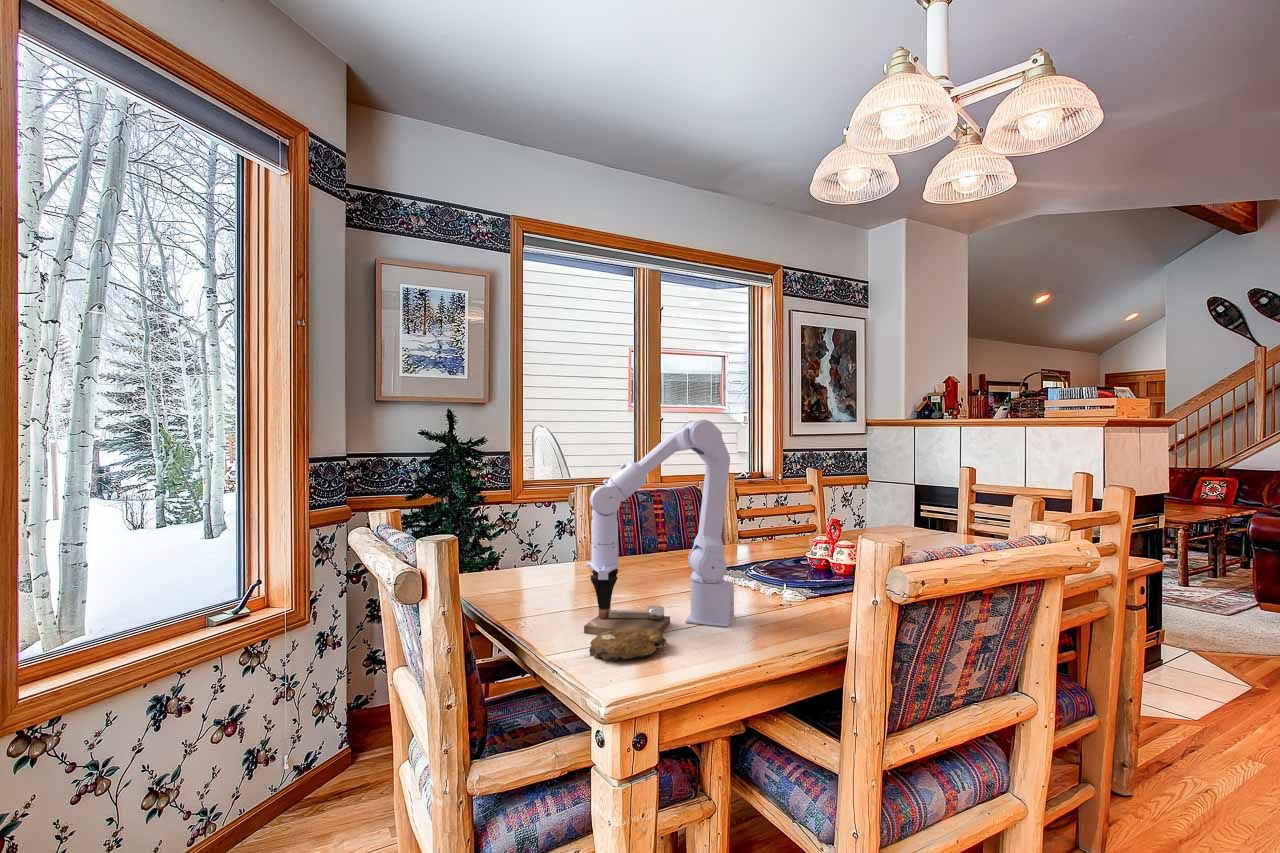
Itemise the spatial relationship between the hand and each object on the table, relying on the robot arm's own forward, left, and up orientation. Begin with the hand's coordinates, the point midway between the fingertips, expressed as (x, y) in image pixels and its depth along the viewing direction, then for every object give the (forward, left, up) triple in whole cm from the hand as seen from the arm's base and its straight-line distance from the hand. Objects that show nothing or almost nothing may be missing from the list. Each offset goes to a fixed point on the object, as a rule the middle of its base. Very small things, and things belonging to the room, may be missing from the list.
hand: (604, 606), depth 132 cm
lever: (-5, -2, -2) cm, 6 cm away
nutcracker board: (-5, 0, -4) cm, 7 cm away
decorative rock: (-10, +13, -5) cm, 17 cm away
